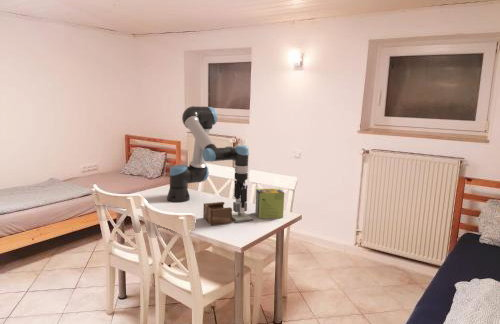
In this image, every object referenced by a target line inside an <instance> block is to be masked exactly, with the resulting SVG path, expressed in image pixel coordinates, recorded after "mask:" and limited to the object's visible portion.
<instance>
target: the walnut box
mask: <svg viewBox="0 0 500 324" xmlns="http://www.w3.org/2000/svg"><path fill="white" fill-rule="evenodd" d="M224 205H225V202H224V201H217V202H208V203H207V202H206V203H205V202H204V203H203V214H202V215H203V219H204V220H205V221H206V222H207V223H208V224H209V225H210V226H212V227H213V226H219V225H220V226H221V225H227V224H232V223H233V221H232V213H233V207H224Z"/></svg>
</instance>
